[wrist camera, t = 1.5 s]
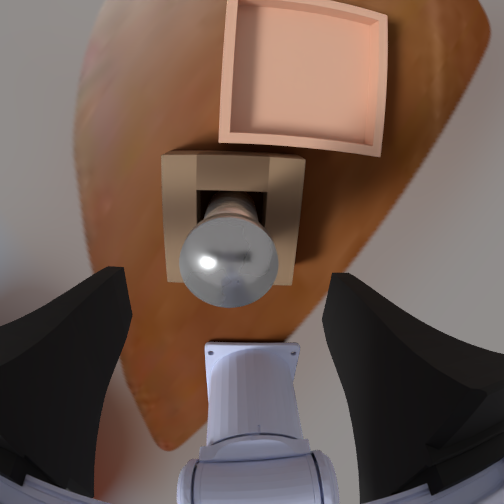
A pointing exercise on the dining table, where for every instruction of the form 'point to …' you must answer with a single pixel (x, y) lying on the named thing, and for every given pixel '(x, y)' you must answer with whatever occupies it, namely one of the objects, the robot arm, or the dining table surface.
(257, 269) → the pin
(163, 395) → the dining table surface
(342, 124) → the tray
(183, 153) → the brown square frame
